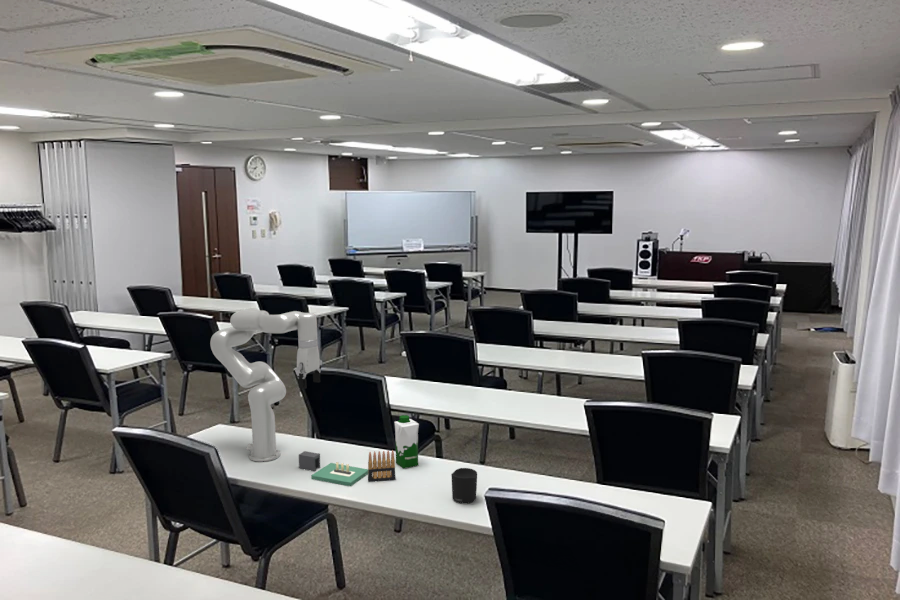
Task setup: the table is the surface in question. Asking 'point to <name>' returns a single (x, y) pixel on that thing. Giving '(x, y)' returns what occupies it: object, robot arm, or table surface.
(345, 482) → the header board
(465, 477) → the pen holder
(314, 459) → the block
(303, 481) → the table surface
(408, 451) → the milk carton
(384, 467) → the ammunition clip
